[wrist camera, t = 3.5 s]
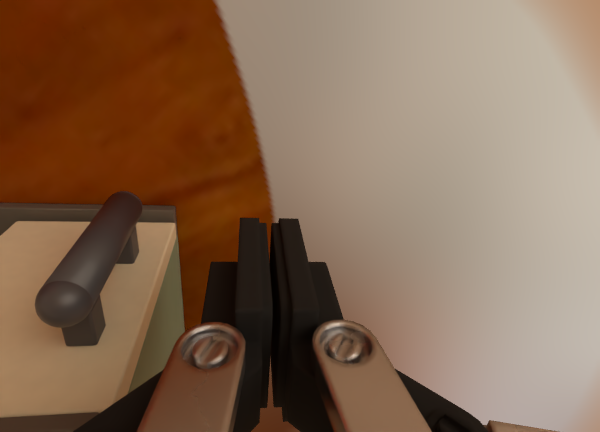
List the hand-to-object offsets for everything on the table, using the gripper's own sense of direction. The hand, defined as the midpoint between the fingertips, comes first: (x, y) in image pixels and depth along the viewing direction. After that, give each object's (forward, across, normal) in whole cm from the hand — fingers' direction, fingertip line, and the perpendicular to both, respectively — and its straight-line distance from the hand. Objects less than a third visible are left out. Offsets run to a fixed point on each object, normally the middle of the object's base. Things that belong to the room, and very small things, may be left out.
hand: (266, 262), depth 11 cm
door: (+5, +7, +1) cm, 9 cm away
